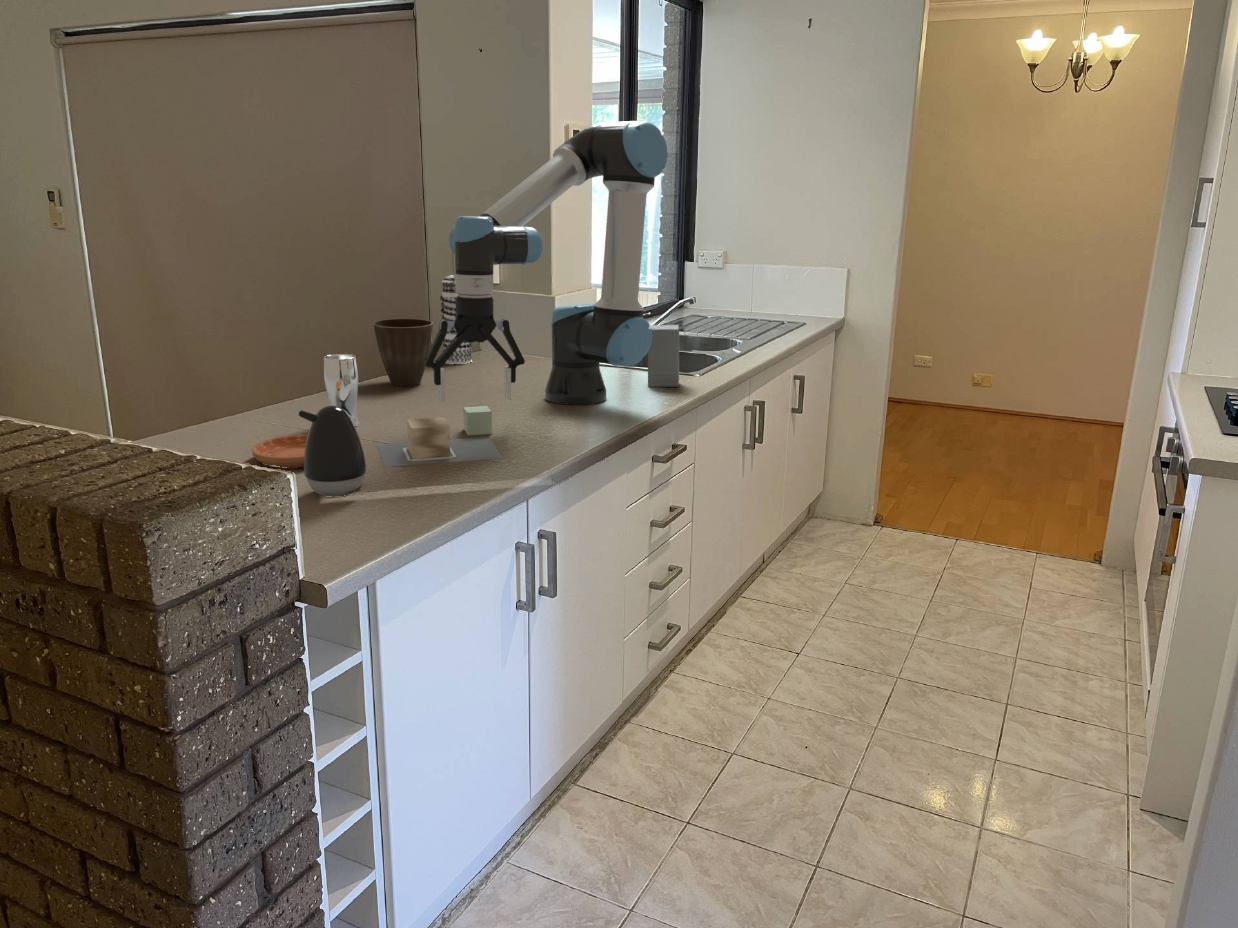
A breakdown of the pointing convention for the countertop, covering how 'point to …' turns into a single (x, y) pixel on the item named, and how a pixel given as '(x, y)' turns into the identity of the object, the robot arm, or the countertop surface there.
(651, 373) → the skincare box
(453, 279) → the decorative candle
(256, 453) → the saucer
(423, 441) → the maple block
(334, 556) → the countertop surface
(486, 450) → the board
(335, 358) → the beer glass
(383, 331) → the plant pot
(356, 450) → the pump dispenser
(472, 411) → the sage block
